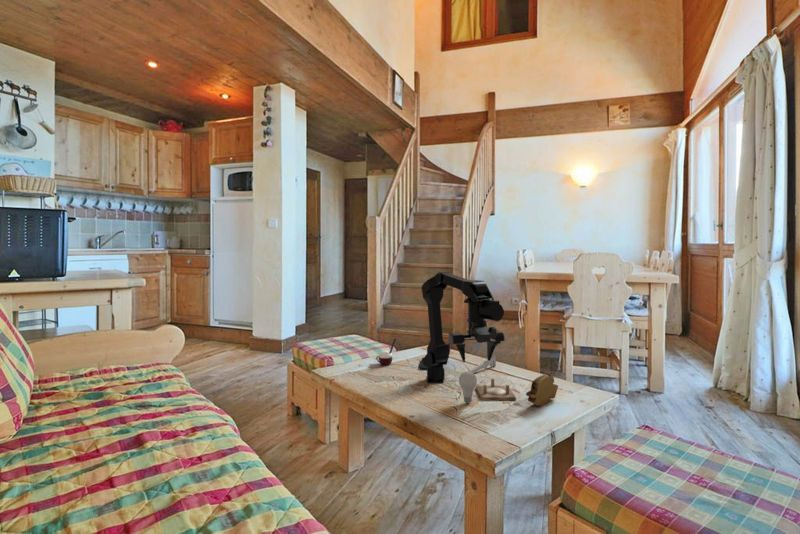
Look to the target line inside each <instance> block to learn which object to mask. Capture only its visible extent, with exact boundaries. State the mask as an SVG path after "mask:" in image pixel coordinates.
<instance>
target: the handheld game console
mask: <svg viewBox="0 0 800 534" xmlns="http://www.w3.org/2000/svg"><path fill="white" fill-rule="evenodd" d="M451 343H452V342H448V343H447V344H448V345H449V353H451V345H452V344H451ZM423 358H424V357H422V358H421V360H420V364H419V370H420V371H421V370H422V371H425V370H426V371H427V367H426V366H423V362H422V360H423Z"/></svg>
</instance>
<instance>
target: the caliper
mask: <svg viewBox="0 0 800 534" xmlns="http://www.w3.org/2000/svg"><path fill="white" fill-rule="evenodd" d="M493 366H497V359H496V356H495V354H494V353H493V354H492V357H491V359H490V361H489V360H488V358H487V359H485V360H484V361H483V362H481V363H480V364H479V365H477V366H475V367H474V368H472V369H470V370H468V371H469V372H472V373H473V374H474V375H475V373H477V372H478V371H480V370H482V369H483V368H484V367H485V368H488V367H490V368H492V367H493ZM493 368H494V367H493Z"/></svg>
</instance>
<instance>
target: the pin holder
mask: <svg viewBox="0 0 800 534" xmlns="http://www.w3.org/2000/svg"><path fill="white" fill-rule="evenodd" d="M475 389H476V391H478V392H477V394H478V396H479V400H481V401H516V400H517V397H516V396H515V394H514V392H513V391H512V390H511V388H510V385H509V384H505V385H495V378H491V379H490V385H487V384H483V385H476V386H475Z"/></svg>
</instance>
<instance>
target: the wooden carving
mask: <svg viewBox="0 0 800 534" xmlns="http://www.w3.org/2000/svg"><path fill="white" fill-rule="evenodd" d="M530 386H531V387H530V391H527V392H525V393H526V394H525V395H526V396H527V397H528V398H527V402H530V403H532V404H534V405H535V406H537V407H541V406H545V405H546V404H547V403H548V402H549V401H550V400H551V399H555V398H556V396H557V395H556V394H557V392H558V389H559V386H558V384H555V376H554V375H551V374H542V375H540V376H538V377H536V378H535V379H534V380H533V381H532V382H531V385H530Z"/></svg>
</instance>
